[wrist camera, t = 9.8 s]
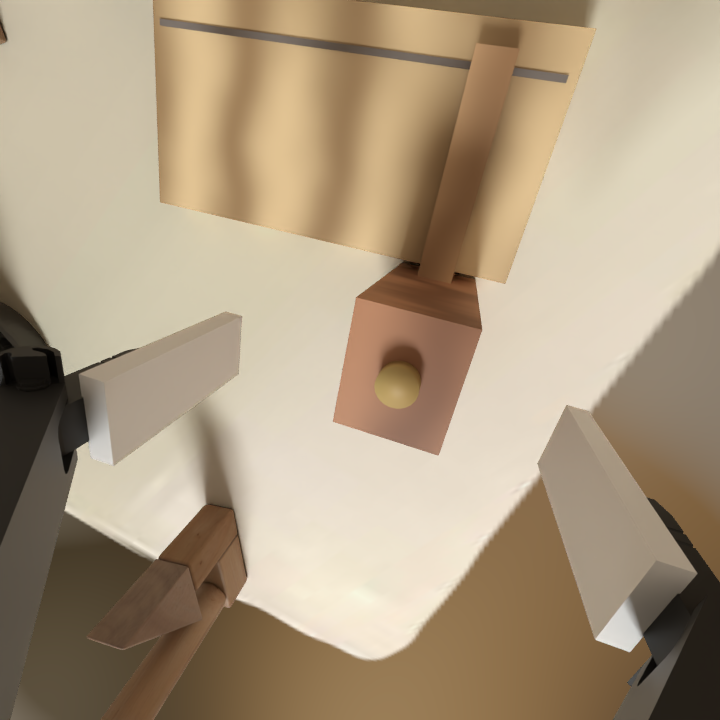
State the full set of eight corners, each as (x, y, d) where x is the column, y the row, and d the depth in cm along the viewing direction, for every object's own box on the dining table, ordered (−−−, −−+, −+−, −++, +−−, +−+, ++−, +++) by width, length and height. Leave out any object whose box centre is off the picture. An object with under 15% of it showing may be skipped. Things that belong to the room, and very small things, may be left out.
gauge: (384, 341, 28) (327, 430, 16) (448, 68, 21) (425, -112, 9) (449, 359, 27) (437, 466, 15) (538, 81, 20) (636, -100, 8)
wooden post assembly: (234, 507, 39) (71, 714, 23) (248, 579, 43) (117, 798, 27) (205, 502, 40) (28, 696, 24) (221, 572, 44) (79, 780, 28)
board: (184, 203, 28) (159, 202, 26) (182, 0, 23) (150, -25, 21) (501, 277, 24) (505, 283, 22) (581, 50, 19) (597, 27, 17)
